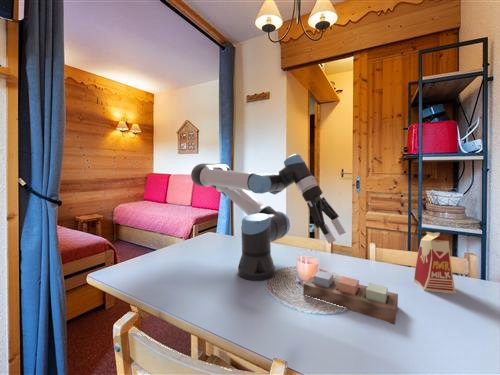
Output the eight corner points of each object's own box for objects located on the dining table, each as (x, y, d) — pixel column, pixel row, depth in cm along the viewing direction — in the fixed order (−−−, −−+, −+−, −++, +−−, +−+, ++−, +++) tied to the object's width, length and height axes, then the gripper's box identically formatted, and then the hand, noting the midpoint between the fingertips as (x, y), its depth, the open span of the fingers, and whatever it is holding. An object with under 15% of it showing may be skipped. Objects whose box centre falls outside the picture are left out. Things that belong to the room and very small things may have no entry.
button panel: (303, 295, 79) (303, 283, 79) (314, 283, 87) (314, 273, 87) (394, 324, 64) (394, 310, 64) (397, 306, 72) (397, 294, 72)
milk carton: (455, 293, 79) (458, 234, 78) (424, 291, 81) (427, 233, 80) (440, 281, 88) (442, 228, 87) (412, 279, 90) (414, 227, 89)
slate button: (313, 288, 80) (313, 275, 79) (318, 282, 84) (318, 270, 83) (328, 293, 77) (328, 279, 76) (333, 286, 81) (333, 274, 80)
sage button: (365, 304, 70) (366, 289, 70) (368, 296, 74) (369, 282, 74) (385, 309, 67) (385, 294, 67) (387, 301, 71) (387, 287, 71)
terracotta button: (337, 295, 75) (338, 282, 75) (342, 289, 79) (342, 276, 79) (354, 300, 72) (355, 286, 72) (358, 293, 76) (358, 280, 76)
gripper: (304, 186, 84) (337, 241, 78) (327, 183, 104) (354, 227, 98) (288, 196, 87) (318, 250, 82) (313, 191, 108) (338, 234, 102)
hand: (337, 237), depth 90 cm, fingers open, 13 cm apart
